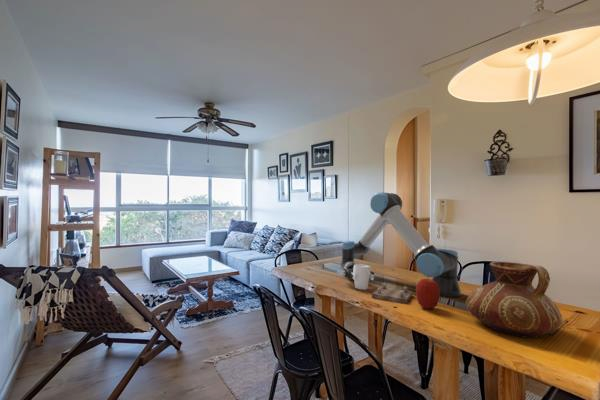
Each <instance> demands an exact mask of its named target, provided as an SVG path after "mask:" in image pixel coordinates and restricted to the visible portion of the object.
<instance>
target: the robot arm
mask: <svg viewBox="0 0 600 400" xmlns="http://www.w3.org/2000/svg"><path fill="white" fill-rule="evenodd" d="M369 204H370V206H369V207H370V208H371V211H373V212H374V213H376V214H378V216H377V217H376V218H375V220H374V221H373V222H372V223H371V225H370V226H369V227H368V229H367V230H366V231H365V232H364V234H363V235H362V236H361V238H360V239H359V241H357V243H355V241H354V240H343V241H342V247H341V249H342V250H341V251H342V253H341V255H342V256H341V260H340V263H339V266H340V269H342V271H343V274H344V276H345V278H347V277H348V279H353V280H356V275H355V274H354V273H353V268H354V265H355V264H356V263H355V256H361V255H362V256H363V255H366V254H367V255H368V253H369V252H370V249H371V248H370V247H371V246H372V245H373V243H374V242H375V241H376V239H378V237H379V236H380V235H381V233H382V232H383V231H384V229H386V227H387V226H388V225H389V224H390V225H391V226H392V228H393V229H394V230H395V231H396V232H397V234H398V235H399V236H400V238H401V239H402V240H403V241H404V243H405V244H406V245H407V246H408V248H409V249H410V251H411V252H412V253H413V254H414V255H413V259H414V260H415V263H416V267H417V270H418V271H419V272H420V273H421V274H422V275H423V276H425V277H427V278H431V280H433V281H435V282H436V283H437V284H438V285H439V289H440V296H441V297H448V298H449V297H452V298H453V297H454V298H457V297H460V296H461V293H462V291H461V287H460V285H459V282H458V265H459V263H458V262H459V261H458V260H459V256H458V255H459V254H458V253H459V252H458V251H457V250H453V249H446V248H439V247H438V248H437V247H436V246H434V245H433V244H429V243H428V242H427V241H426V239H424V237H423V236H422V234H421V233H420V232H419V231H418V230H417V229H416V227H414V225H413V224H412V223H411V222H410V220H409V219H408V218H407V217H406V216H405V215H404V213H403V212H402V211H401V210H402V208H403V200H402V198H401V197H400V195H398V194H397V193H393V192H391V193H390V192H384V191H380V192H376V193H375V194H373V195H372V196H371V199H370V203H369ZM374 279H375V272H374V271H371V270H370V276H369V280H371V281H374Z"/></svg>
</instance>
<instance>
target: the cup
mask: <svg viewBox="0 0 600 400" xmlns="http://www.w3.org/2000/svg"><path fill="white" fill-rule="evenodd" d="M370 271H371V266H370V265H369V264H365V263H364V264H363V263H362V264H360V263H355V265H354V268H353V273H354V274H355V275H356V280H354V279H353V280H354V288H355V289H357V290H367V289H368V288H369V280H370V279H369V276H370Z"/></svg>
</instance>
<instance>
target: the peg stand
mask: <svg viewBox="0 0 600 400" xmlns="http://www.w3.org/2000/svg"><path fill="white" fill-rule="evenodd" d="M412 296H413V291H412V290H411V291H410V290H408V286H403V289H397V288H391V287H387V284H386V283H382V286H379V287H377V289H376V290H375V291H373V292H372V293H371V299H378V300H383V301H388V302H394V303H400V304H405V305H407V304H408V302H409V301H410V299H411V298H412Z"/></svg>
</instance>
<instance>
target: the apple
mask: <svg viewBox="0 0 600 400" xmlns="http://www.w3.org/2000/svg"><path fill="white" fill-rule="evenodd" d="M415 296H416V299H417V302H418V305H420V307H422V309H426V310H429V309H430V310H431V309H434V308H435V307H437V306H438V303H439V301H440V296H441V295H440V289H439V285H438V284H437V283H436V282H435V281H433V280H432V278H422V279H420V280H418V282H417V284H416V287H415Z"/></svg>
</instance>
